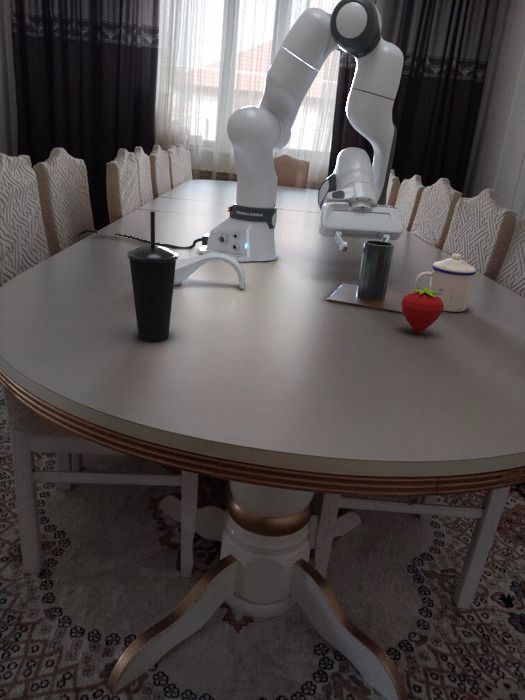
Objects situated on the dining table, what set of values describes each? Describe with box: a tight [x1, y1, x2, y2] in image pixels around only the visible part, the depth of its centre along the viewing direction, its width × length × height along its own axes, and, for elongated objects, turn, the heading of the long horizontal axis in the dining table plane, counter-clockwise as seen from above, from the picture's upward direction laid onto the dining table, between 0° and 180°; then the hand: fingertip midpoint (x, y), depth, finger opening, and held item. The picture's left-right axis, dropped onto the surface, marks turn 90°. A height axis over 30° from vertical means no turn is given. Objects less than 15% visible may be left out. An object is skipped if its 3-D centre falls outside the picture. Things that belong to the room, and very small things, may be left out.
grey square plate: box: [326, 283, 409, 314], centre depth 117 cm, size 16×16×1 cm
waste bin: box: [357, 239, 395, 300], centre depth 115 cm, size 6×6×12 cm
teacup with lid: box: [415, 253, 477, 313], centre depth 113 cm, size 12×9×12 cm
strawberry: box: [401, 280, 444, 334], centre depth 95 cm, size 6×8×10 cm
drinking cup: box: [126, 211, 179, 343], centre depth 81 cm, size 8×8×20 cm
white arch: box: [174, 253, 246, 290], centre depth 116 cm, size 24×12×7 cm, turn 91°
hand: (363, 251), depth 122 cm, fingers open, 8 cm apart
